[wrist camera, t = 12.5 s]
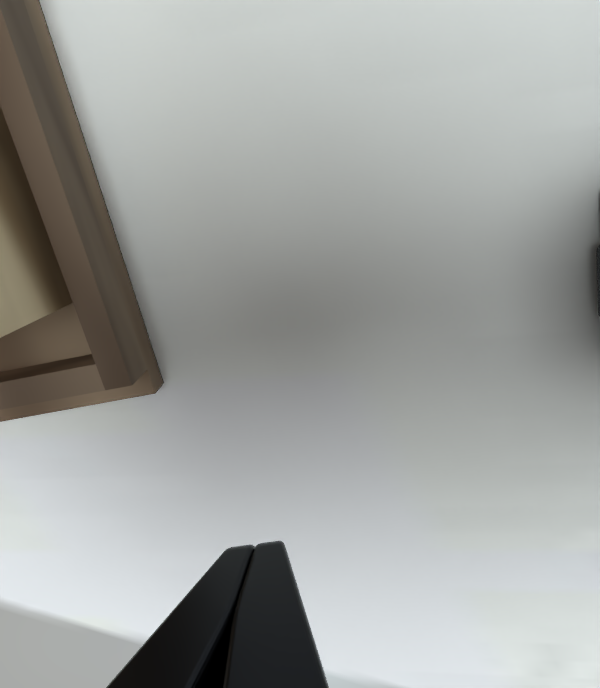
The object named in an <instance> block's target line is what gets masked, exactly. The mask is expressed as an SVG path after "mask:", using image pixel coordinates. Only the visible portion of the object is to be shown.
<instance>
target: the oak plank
mask: <svg viewBox="0 0 600 688" xmlns="http://www.w3.org/2000/svg"><path fill="white" fill-rule="evenodd" d="M71 303H73V302H72V299H71V296H70V293H69V291H68V288H67V285H66V283H65V280H64V277H63V274H62V272H61V269H60V266H59V264H58V261H57V258H56V255H55V253H54V250H53V247H52V245H51V242H50V239H49V237H48V234H47V231H46V228H45V226H44V223H43V220H42V218H41V215H40V212H39V209H38V207H37V204H36V201H35V199H34V196H33V193H32V190H31V188H30V185H29V182H28V180H27V177H26V174H25V171H24V169H23V166H22V163H21V161H20V158H19V155H18V152H17V150H16V147H15V144H14V142H13V139H12V136H11V133H10V131H9V128H8V125H7V123H6V120H5V117H4V114H3V112H2V109H1V106H0V338H1V337H3V336H5V335H7V334H9V333H11V332H13V331H15V330H17V329H20V328H22V327H24V326H26V325H28V324H30V323H32V322H34V321H36V320H38V319H40V318H42V317H44V316H46V315H49V314H51V313H53V312H55V311H57V310H59V309H61V308H63V307H65V306H67V305H69V304H71Z"/></svg>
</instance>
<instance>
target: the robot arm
mask: <svg viewBox="0 0 600 688" xmlns="http://www.w3.org/2000/svg"><path fill="white" fill-rule="evenodd" d="M597 273H598V313H599V316H600V246H599V247H598V249H597ZM106 688H329V686H328V683H327V680H326V677H325V673H324V670H323V667H322V664H321V661H320V657H319V654H318V651H317V648H316V644H315V641H314V638H313V635H312V632H311V628H310V625H309V622H308V619H307V615H306V612H305V609H304V606H303V603H302V599H301V596H300V593H299V590H298V587H297V583H296V580H295V577H294V574H293V570H292V567H291V564H290V561H289V558H288V554H287V551H286V548H285V545H284V543H283V542H282V541H274V542H267V543H260V544H258V545H257V546H256V547H255V546H253V545H244V546H237V547H231V548H228V549H227V550H225V551H224V552H223V554H222V555H221V556H220V557H219V558H218V559H217V560H216V562H215V563H214V564H213V565H212V566H211V567H210V569H209V570H208V571H207V572H206V573H205V574H204V575H203V577H202V578H201V579H200V580H199V581H198V582H197V584H196V585H195V586H194V587H193V588H192V589H191V590H190V592H189V593H188V594H187V595H186V596H185V597H184V599H183V600H182V601H181V602H180V603H179V604H178V605H177V607H176V608H175V609H174V610H173V611H172V612H171V613H170V615H169V616H168V617H167V618H166V619H165V620H164V622H163V623H162V624H161V625H160V626H159V627H158V628H157V630H156V631H155V632H154V633H153V634H152V635H151V637H150V638H149V639H148V640H147V641H146V642H145V643H144V645H143V646H142V647H141V648H140V649H139V650H138V652H137V653H136V654H135V655H134V656H133V657H132V658H131V660H130V661H129V662H128V663H127V664H126V666H125V667H124V668H123V669H122V670H121V671H120V672H119V673H118V675H117V676H116V677H115V678H114V679H113V680H112V682H111V683H110V684H109V685H108V686H107V687H106Z"/></svg>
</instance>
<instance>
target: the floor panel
mask: <svg viewBox="0 0 600 688" xmlns="http://www.w3.org/2000/svg"><path fill="white" fill-rule="evenodd" d="M0 106H1V109H2V112H3V114H4V117H5V120H6V123H7V125H8V128H9V131H10V133H11V136H12V139H13V142H14V144H15V147H16V150H17V152H18V155H19V158H20V161H21V163H22V166H23V169H24V171H25V174H26V177H27V180H28V182H29V185H30V188H31V190H32V193H33V196H34V199H35V201H36V204H37V207H38V209H39V212H40V215H41V218H42V220H43V223H44V226H45V228H46V231H47V234H48V237H49V239H50V242H51V245H52V247H53V250H54V253H55V255H56V258H57V261H58V264H59V266H60V269H61V272H62V274H63V277H64V280H65V283H66V285H67V288H68V291H69V293H70V296H71V299H72V302H73V303H71V304H69V305H67V306H65V307H63V308H61V309H59V310H57V311H55V312H53V313H51V314H49V315H46V316H44V317H42V318H40V319H38V320H36V321H34V322H32V323H30V324H28V325H26V326H24V327H22V328H20V329H17V330H15V331H13V332H11V333H9V334H7V335H5V336H3V337H1V338H0V422H1V421H6V420H12V419H17V418H23V417H28V416H34V415H39V414H45V413H50V412H56V411H61V410H67V409H72V408H78V407H83V406H89V405H94V404H100V403H105V402H111V401H116V400H122V399H127V398H133V397H138V396H144V395H149V394H155V393H156V392H157V391H158V389H159V388H160V387H161V386H162V384H163V380H162V377H161V374H160V371H159V368H158V364H157V361H156V358H155V355H154V352H153V349H152V346H151V343H150V340H149V337H148V334H147V331H146V328H145V325H144V322H143V319H142V315H141V312H140V309H139V306H138V303H137V300H136V297H135V294H134V291H133V288H132V285H131V282H130V279H129V276H128V273H127V270H126V266H125V263H124V260H123V257H122V254H121V251H120V248H119V245H118V242H117V239H116V236H115V233H114V230H113V227H112V224H111V221H110V217H109V214H108V211H107V208H106V205H105V202H104V199H103V196H102V193H101V190H100V187H99V184H98V181H97V178H96V175H95V172H94V168H93V165H92V162H91V159H90V156H89V153H88V150H87V147H86V144H85V141H84V138H83V135H82V132H81V129H80V126H79V123H78V119H77V116H76V113H75V110H74V107H73V104H72V101H71V98H70V95H69V92H68V89H67V86H66V83H65V80H64V77H63V74H62V70H61V67H60V64H59V61H58V58H57V55H56V52H55V49H54V46H53V43H52V40H51V37H50V34H49V31H48V28H47V25H46V21H45V18H44V15H43V12H42V9H41V6H40V3H39V0H0Z"/></svg>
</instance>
